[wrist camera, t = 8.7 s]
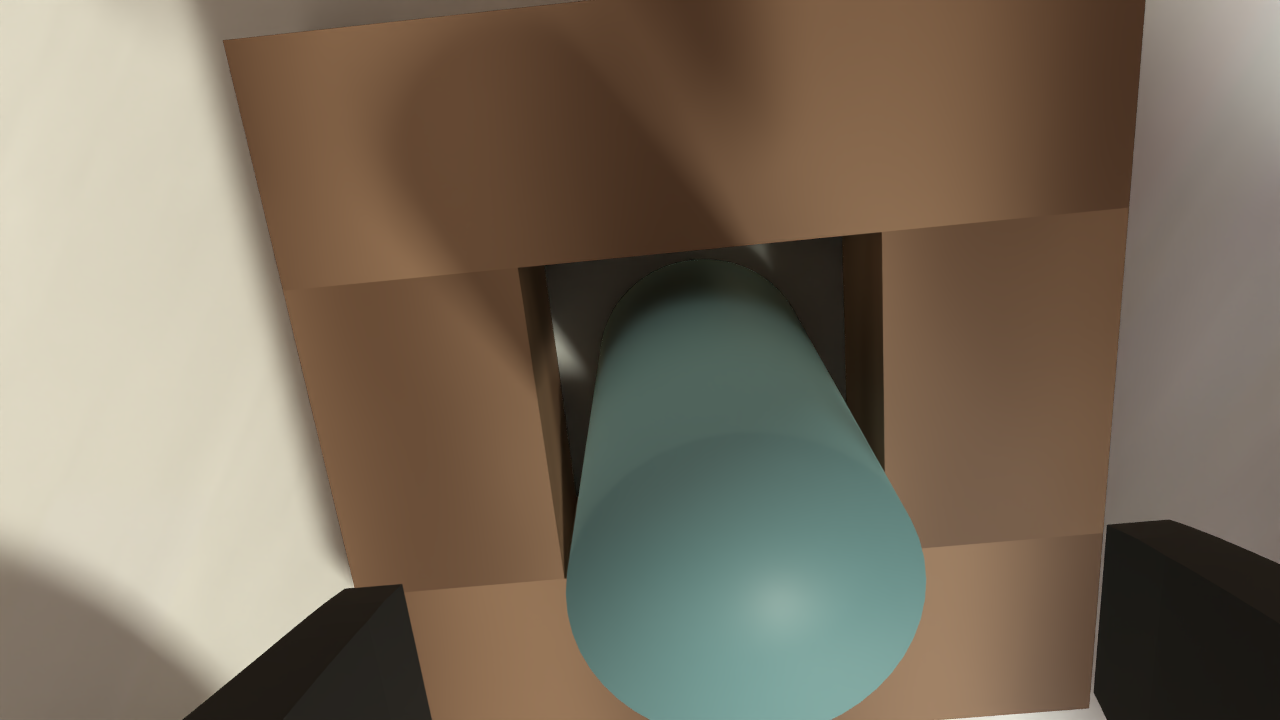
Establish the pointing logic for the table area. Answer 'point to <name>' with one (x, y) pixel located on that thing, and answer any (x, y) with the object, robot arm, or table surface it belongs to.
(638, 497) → the peg
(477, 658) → the socket
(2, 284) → the table surface
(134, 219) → the table surface
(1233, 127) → the table surface
